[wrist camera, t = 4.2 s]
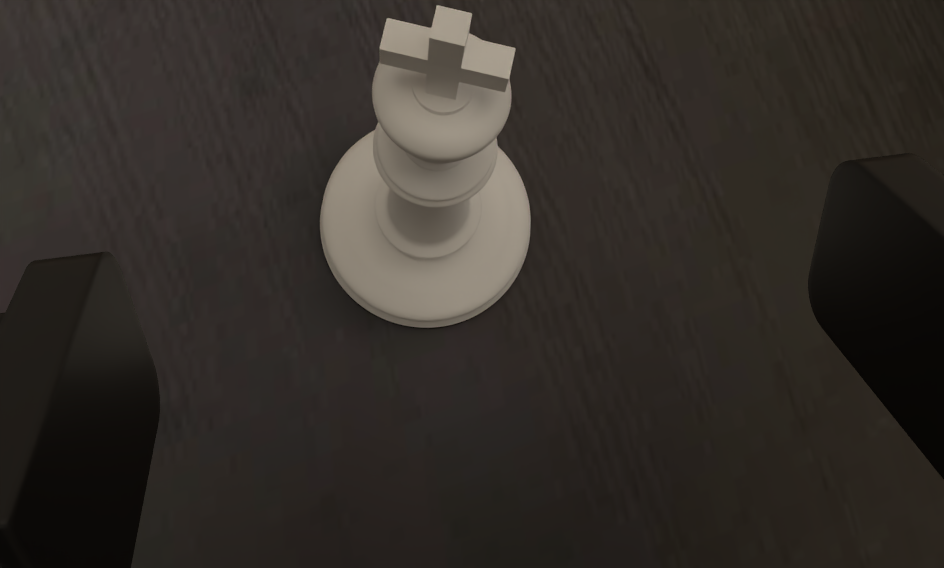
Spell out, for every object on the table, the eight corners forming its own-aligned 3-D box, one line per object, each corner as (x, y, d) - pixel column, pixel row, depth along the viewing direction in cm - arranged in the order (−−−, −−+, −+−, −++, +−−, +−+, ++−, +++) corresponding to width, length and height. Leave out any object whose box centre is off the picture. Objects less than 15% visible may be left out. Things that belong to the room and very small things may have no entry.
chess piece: (507, 348, 20) (612, 266, 10) (297, 302, 20) (193, 171, 10) (547, 149, 21) (681, -106, 11) (347, 104, 20) (298, -200, 11)
